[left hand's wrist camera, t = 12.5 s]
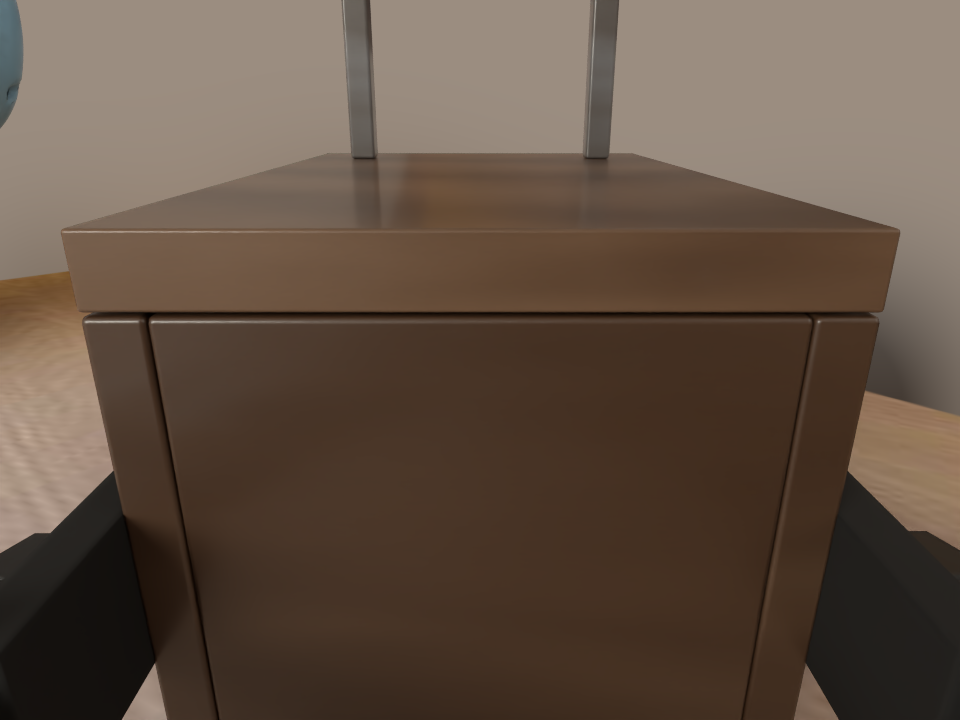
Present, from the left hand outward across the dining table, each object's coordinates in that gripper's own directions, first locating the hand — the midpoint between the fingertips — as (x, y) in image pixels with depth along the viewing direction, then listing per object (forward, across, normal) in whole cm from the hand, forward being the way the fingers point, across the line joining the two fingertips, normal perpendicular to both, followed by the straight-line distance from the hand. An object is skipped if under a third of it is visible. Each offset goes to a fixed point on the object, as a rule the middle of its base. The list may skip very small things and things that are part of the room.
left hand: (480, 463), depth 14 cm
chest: (+3, 0, -6) cm, 7 cm away
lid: (+4, 0, +4) cm, 6 cm away
